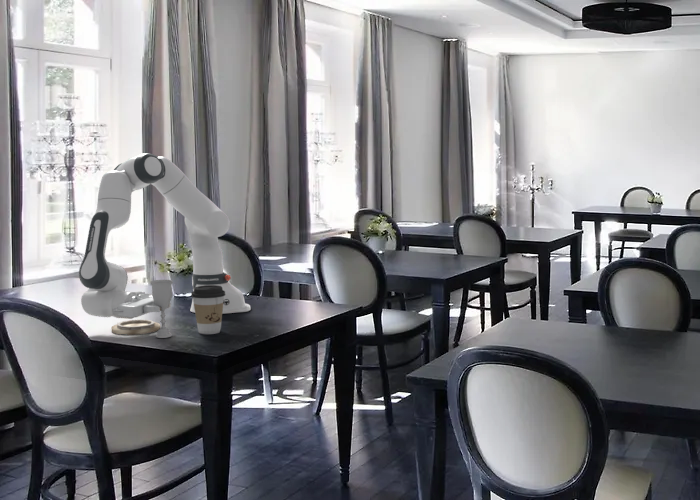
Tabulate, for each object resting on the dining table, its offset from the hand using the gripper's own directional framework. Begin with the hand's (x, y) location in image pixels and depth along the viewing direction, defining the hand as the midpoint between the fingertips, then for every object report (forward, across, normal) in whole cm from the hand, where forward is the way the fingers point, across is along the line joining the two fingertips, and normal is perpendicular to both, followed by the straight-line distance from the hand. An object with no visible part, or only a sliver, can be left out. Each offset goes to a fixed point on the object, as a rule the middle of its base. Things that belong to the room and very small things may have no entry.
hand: (165, 307), depth 274 cm
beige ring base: (-16, +7, +10) cm, 20 cm away
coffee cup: (+10, +11, +10) cm, 18 cm away
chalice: (-1, 0, +10) cm, 10 cm away
